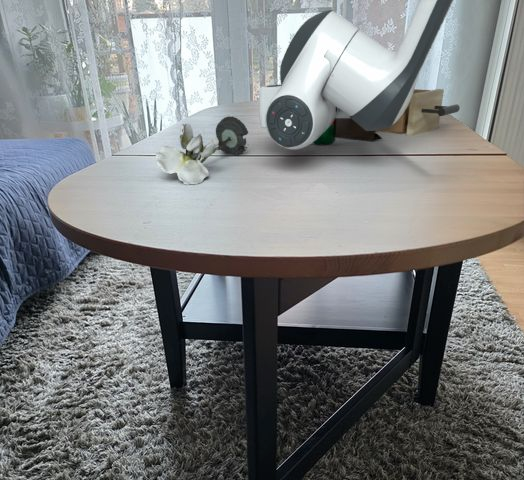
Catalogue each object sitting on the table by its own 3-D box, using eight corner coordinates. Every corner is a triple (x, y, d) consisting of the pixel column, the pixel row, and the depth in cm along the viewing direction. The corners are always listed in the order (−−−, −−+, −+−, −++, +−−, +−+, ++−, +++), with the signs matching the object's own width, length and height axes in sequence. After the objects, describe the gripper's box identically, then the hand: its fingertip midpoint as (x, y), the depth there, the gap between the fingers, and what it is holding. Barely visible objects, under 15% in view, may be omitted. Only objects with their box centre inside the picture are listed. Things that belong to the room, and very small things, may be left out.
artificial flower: (258, 163, 92) (268, 106, 85) (191, 211, 77) (196, 147, 70) (216, 146, 94) (222, 89, 87) (142, 190, 78) (142, 125, 71)
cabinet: (403, 132, 108) (409, 82, 103) (372, 141, 100) (377, 87, 95) (345, 127, 117) (348, 79, 112) (313, 134, 109) (314, 84, 104)
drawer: (460, 134, 100) (467, 90, 96) (434, 142, 93) (441, 95, 89) (379, 126, 111) (383, 86, 106) (350, 133, 103) (353, 91, 99)
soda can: (306, 141, 102) (307, 74, 96) (330, 140, 103) (333, 73, 96) (314, 146, 98) (316, 75, 91) (339, 144, 99) (342, 74, 92)
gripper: (375, 86, 80) (381, 79, 91) (250, 86, 84) (271, 79, 96) (371, 129, 83) (378, 117, 94) (251, 127, 88) (271, 116, 99)
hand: (323, 98), depth 95 cm, fingers open, 8 cm apart
